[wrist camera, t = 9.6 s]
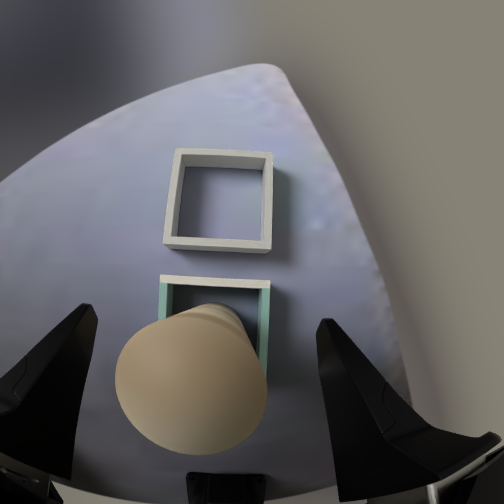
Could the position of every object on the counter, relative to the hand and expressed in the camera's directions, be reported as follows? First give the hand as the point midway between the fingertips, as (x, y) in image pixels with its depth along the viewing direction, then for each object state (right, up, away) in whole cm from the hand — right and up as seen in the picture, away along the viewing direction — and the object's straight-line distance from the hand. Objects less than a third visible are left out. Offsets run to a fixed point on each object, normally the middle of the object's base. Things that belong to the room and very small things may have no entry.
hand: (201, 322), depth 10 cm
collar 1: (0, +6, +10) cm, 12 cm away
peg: (-1, -3, +9) cm, 9 cm away
